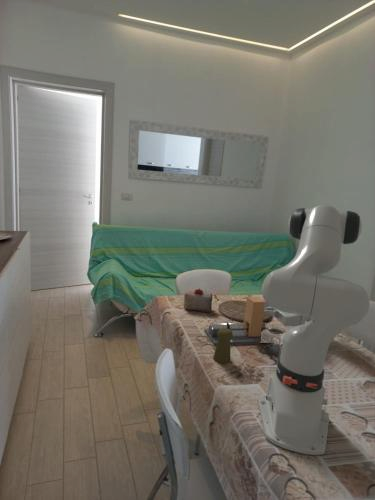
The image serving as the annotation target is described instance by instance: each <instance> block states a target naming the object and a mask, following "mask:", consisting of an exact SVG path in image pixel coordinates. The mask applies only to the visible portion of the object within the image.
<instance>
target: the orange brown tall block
mask: <svg viewBox="0 0 375 500" xmlns="http://www.w3.org/2000/svg"><path fill="white" fill-rule="evenodd" d="M263 300H264V299H262V298H261V297H259V296H247V297H246V301H247V302H246V309H245V317H244V322H243V323H249V330H244V332H245V333H246V334H247V335H248V336H249V337H254V336H260V335H261V329H262V322H263V315H264V309H265V301H263Z"/></svg>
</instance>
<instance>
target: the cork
mask: <svg viewBox="0 0 375 500" xmlns="http://www.w3.org/2000/svg"><path fill="white" fill-rule="evenodd" d="M217 335H218V342H217V345H215V346H216V347H215V350H214V353H213V357H212V360H213V361H214V362H216V363H217V364H221V365H227V364H230V363H231V361H232V360H231V345H230V340H231V339H232V336H233V334H232V331H231V330H229V329H227V328H221V329H219V331H218V333H217Z"/></svg>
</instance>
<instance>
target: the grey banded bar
mask: <svg viewBox="0 0 375 500" xmlns="http://www.w3.org/2000/svg"><path fill="white" fill-rule="evenodd" d="M265 323H266V322H262V329H261V332H262V331H263V330H265V329H267V330H268V327H267V326H266V324H265ZM221 328H227V329H229V330H231V331H244V330H249V323H244V322H221V323H219V322H218V323H217V322H216V323H215V322H214V323H211V324H210V325H209V326H208V329H209V332H208V333H209V335H210V336H211V337H212V338H216V337H218V335H217V333H218V331H219V329H221ZM260 336H261V335H260Z"/></svg>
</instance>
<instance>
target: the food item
mask: <svg viewBox="0 0 375 500" xmlns="http://www.w3.org/2000/svg"><path fill="white" fill-rule="evenodd" d="M212 302H213V293H211V292H210V293H209V292H204V291H203V290H202V289H200V288H197V289H195V290H194V291H190V290H189V291H188V290H186V291H185V292H184V297H183V309H184V310H185V311H196V312H203V313H212V308H213V307H212V304H213V303H212Z"/></svg>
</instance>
